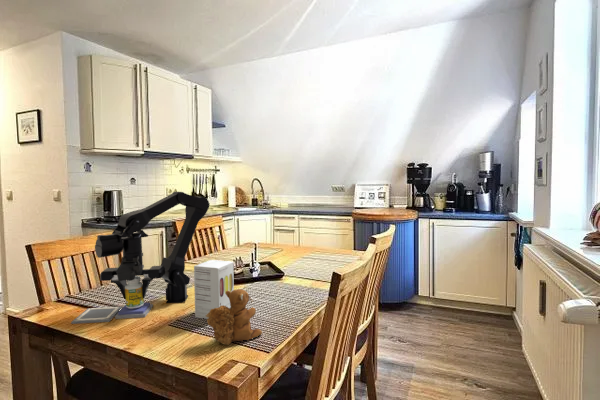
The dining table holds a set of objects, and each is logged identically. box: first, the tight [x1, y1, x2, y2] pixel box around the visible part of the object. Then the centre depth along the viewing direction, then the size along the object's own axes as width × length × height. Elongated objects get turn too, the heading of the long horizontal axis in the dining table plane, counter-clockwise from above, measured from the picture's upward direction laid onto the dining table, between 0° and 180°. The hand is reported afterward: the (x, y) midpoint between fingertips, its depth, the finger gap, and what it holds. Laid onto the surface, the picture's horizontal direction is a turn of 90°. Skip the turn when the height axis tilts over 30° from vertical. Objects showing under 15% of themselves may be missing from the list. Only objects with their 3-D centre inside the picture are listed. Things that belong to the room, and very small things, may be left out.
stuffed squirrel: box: [205, 288, 263, 346], centre depth 98 cm, size 10×14×13 cm
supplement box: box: [193, 259, 235, 320], centre depth 115 cm, size 10×9×17 cm
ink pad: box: [114, 302, 154, 320], centre depth 117 cm, size 9×9×2 cm
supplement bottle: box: [125, 275, 145, 309], centre depth 116 cm, size 5×5×10 cm
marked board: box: [70, 306, 123, 325], centre depth 114 cm, size 11×11×1 cm
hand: (134, 298), depth 117 cm, fingers closed on supplement bottle, 5 cm apart
